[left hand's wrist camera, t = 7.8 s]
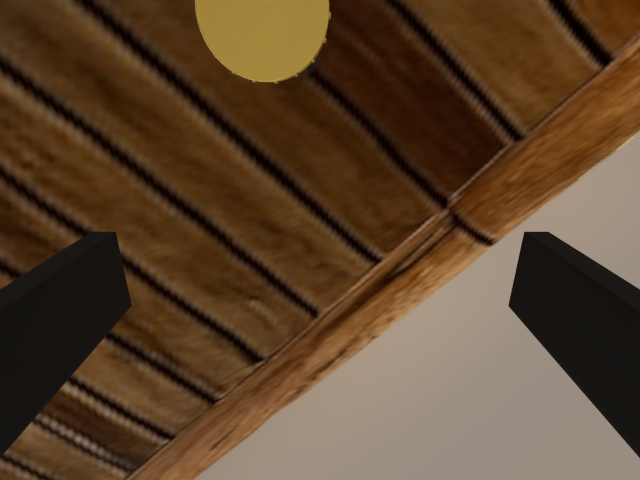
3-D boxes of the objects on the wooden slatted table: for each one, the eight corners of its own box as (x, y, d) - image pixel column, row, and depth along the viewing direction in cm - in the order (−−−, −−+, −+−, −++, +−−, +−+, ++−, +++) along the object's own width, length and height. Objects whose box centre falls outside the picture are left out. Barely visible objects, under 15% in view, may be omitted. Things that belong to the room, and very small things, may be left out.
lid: (198, 68, 19) (187, 67, 18) (211, -78, 17) (200, -94, 15) (315, 95, 19) (314, 96, 18) (342, -44, 17) (344, -56, 16)
